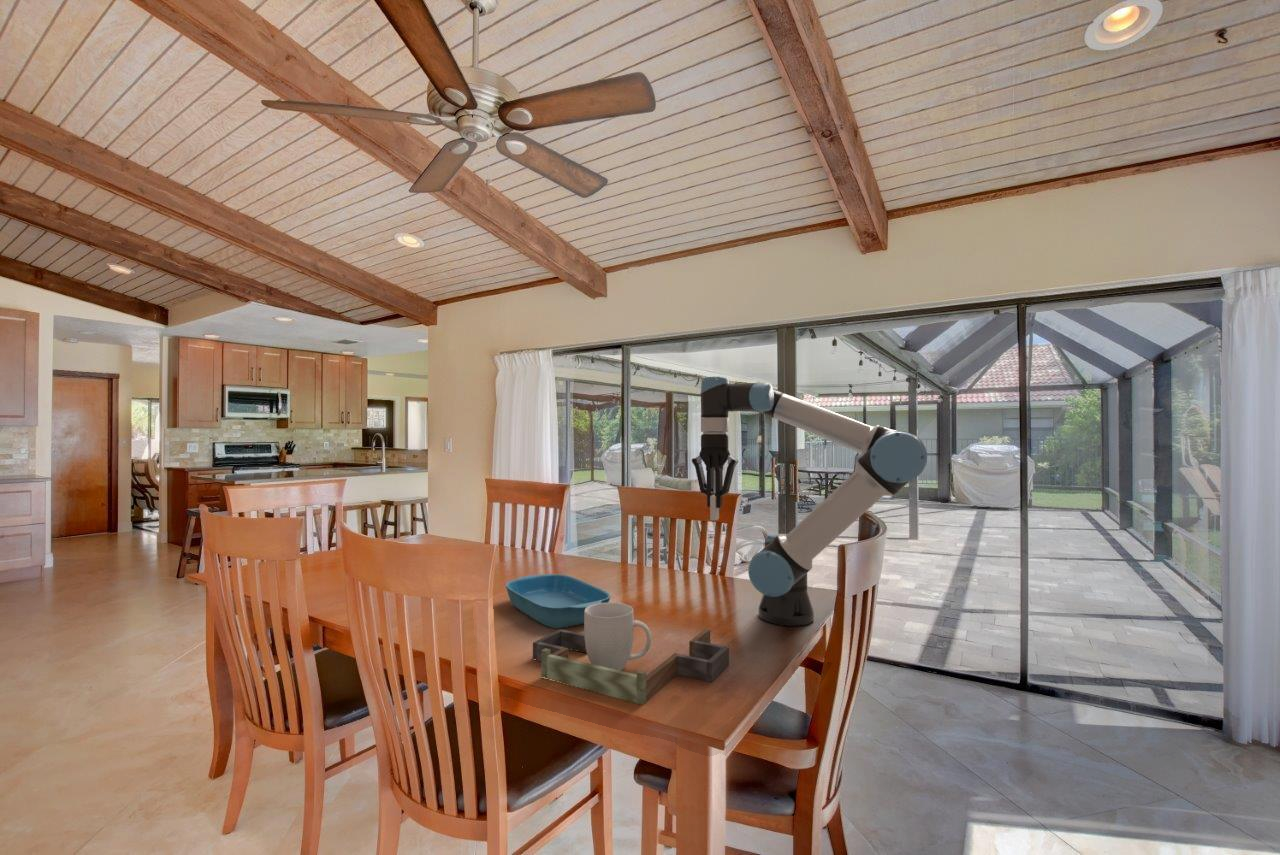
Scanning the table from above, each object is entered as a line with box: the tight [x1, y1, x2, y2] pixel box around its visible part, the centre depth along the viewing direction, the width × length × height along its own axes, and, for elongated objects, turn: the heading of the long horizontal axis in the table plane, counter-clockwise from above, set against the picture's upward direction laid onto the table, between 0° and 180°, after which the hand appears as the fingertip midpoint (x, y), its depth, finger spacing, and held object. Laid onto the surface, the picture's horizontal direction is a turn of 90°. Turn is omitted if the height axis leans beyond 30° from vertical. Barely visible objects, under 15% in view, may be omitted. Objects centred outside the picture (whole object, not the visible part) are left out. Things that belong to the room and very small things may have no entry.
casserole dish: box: [505, 573, 611, 629], centre depth 169 cm, size 37×22×7 cm, turn 37°
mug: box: [583, 602, 652, 671], centre depth 130 cm, size 15×11×13 cm
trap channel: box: [532, 628, 730, 706], centre depth 134 cm, size 40×35×6 cm
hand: (714, 519), depth 160 cm, fingers closed
